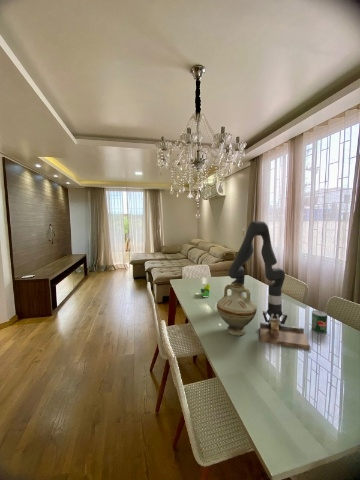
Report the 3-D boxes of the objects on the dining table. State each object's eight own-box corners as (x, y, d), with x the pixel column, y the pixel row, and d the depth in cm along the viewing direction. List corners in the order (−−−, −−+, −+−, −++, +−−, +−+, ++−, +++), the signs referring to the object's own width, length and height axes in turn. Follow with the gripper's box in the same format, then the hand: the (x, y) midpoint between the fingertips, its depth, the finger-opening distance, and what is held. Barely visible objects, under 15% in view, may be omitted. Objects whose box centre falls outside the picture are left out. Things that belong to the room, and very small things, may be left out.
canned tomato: (323, 335, 123) (323, 317, 122) (308, 329, 130) (309, 312, 129) (329, 331, 127) (329, 313, 126) (315, 325, 134) (315, 309, 133)
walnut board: (260, 341, 118) (260, 334, 118) (260, 328, 133) (260, 321, 133) (309, 349, 110) (309, 341, 110) (302, 333, 125) (303, 327, 125)
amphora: (262, 341, 120) (266, 289, 119) (223, 342, 116) (226, 289, 115) (243, 324, 143) (246, 280, 143) (210, 324, 139) (213, 279, 139)
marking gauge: (272, 338, 117) (272, 326, 117) (270, 328, 129) (270, 317, 128) (279, 339, 116) (280, 327, 116) (277, 329, 127) (277, 318, 127)
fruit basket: (200, 293, 200) (200, 282, 199) (209, 293, 199) (209, 282, 198) (201, 298, 188) (201, 286, 187) (211, 298, 188) (210, 285, 187)
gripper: (262, 302, 123) (261, 330, 124) (289, 305, 118) (288, 334, 119) (261, 298, 130) (261, 324, 131) (287, 300, 125) (286, 328, 126)
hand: (274, 329), depth 125 cm, fingers closed on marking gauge, 4 cm apart
